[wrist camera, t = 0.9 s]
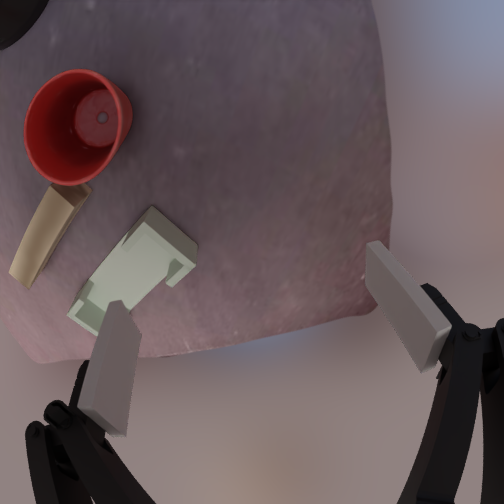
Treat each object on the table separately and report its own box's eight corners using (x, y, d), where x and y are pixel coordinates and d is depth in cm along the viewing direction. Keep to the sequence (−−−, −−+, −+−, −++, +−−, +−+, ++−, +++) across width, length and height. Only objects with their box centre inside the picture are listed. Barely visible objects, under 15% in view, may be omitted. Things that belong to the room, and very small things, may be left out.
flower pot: (165, 107, 29) (147, 112, 21) (109, 178, 33) (78, 207, 24) (102, 57, 25) (65, 48, 17) (51, 130, 28) (7, 146, 20)
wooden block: (27, 251, 36) (8, 272, 30) (71, 170, 31) (49, 185, 26) (45, 266, 37) (28, 289, 32) (93, 189, 33) (74, 207, 28)
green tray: (77, 294, 40) (66, 315, 36) (152, 205, 35) (143, 221, 31) (116, 322, 44) (109, 344, 39) (197, 245, 39) (196, 265, 34)
